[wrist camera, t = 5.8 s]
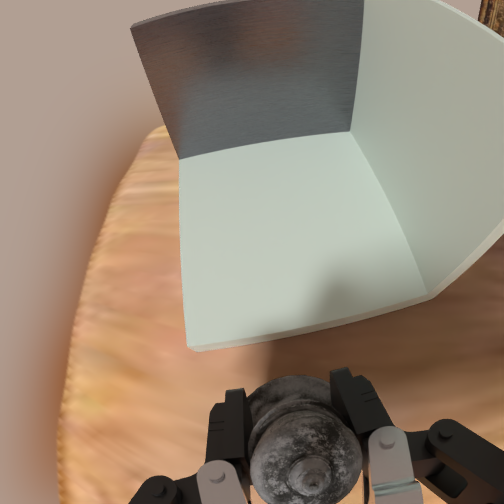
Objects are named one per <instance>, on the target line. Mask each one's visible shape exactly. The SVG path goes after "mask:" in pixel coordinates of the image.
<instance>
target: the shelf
mask: <svg viewBox="0 0 504 504" xmlns="http://www.w3.org/2000/svg"><path fill="white" fill-rule="evenodd" d="M130 30H131V33H132V36H133V39H134V42H135V44H136V47H137V50H138V53H139V56H140V58H141V61H142V64H143V67H144V69H145V72H146V75H147V77H148V80H149V83H150V86H151V88H152V91H153V94H154V96H155V99H156V102H157V104H158V107H159V110H160V112H161V115H162V117H163V120H164V122H165V125H166V128H167V130H168V133H169V135H170V138H171V140H172V143H173V145H174V148H175V150H176V153H177V155H178V158H179V224H180V254H181V274H182V291H183V305H184V318H185V329H186V340H187V347H189V348H190V349H192V350H194V351H196V352H202V351H209V350H217V349H223V348H230V347H236V346H243V345H249V344H254V343H260V342H266V341H271V340H276V339H281V338H286V337H291V336H296V335H301V334H306V333H310V332H315V331H319V330H324V329H328V328H332V327H336V326H340V325H344V324H348V323H352V322H356V321H360V320H364V319H368V318H371V317H375V316H378V315H382V314H386V313H389V312H392V311H396V310H399V309H402V308H406V307H409V306H412V305H415V304H419V303H422V302H425V301H428V300H431V299H433V298H434V297H435V296H437V295H438V294H439V293H440V292H442V291H443V290H444V289H445V288H446V287H448V286H449V285H450V284H451V283H452V282H453V281H455V280H456V279H457V278H458V277H459V276H460V275H461V274H463V273H464V272H465V271H466V270H467V269H468V268H469V267H470V266H471V265H472V264H473V263H475V262H476V261H477V260H478V259H479V258H480V257H481V256H482V255H483V254H484V253H485V252H486V251H487V250H488V249H489V248H490V247H491V246H492V245H493V244H494V243H495V242H496V241H497V240H498V239H499V238H500V237H501V236H502V235H503V234H504V38H503V37H501V36H500V35H499V34H497V33H496V32H494V31H493V30H491V29H490V28H488V27H487V26H485V25H483V24H482V23H480V22H479V21H477V20H475V19H474V18H472V17H470V16H468V15H467V14H465V13H463V12H461V11H459V10H458V9H456V8H453V7H452V6H450V5H448V4H446V3H444V2H442V1H440V0H226V1H219V2H213V3H208V4H203V5H199V6H194V7H189V8H185V9H181V10H177V11H173V12H170V13H166V14H163V15H159V16H156V17H153V18H149V19H146V20H143V21H140V22H138V23H135V24H133V25H132V26H131V28H130Z"/></svg>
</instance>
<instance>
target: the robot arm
mask: <svg viewBox="0 0 504 504" xmlns="http://www.w3.org/2000/svg"><path fill="white" fill-rule="evenodd" d="M330 396H331V402H332V407H334V408H335V409H336V410H337V411H338V412H339V413H341V414H342V415H343V416H344V418H345V420H346V421H347V423H348V424H349V427H350V430H351V431H352V432H353V433H354V435H355V437H356V438H357V440H358V441H359V444H360V448H361V452H362V457H363V458H362V471H363V472H362V502H363V504H423V497H422V490H421V486H420V483H419V482H418V481H415V478H416V479H417V480H419V481H420V482H421V483H422V484H423V485H425V486H426V487H427V488H428V489H430V490H431V491H432V492H433V493H435V494H436V495H437V496H439V497H440V498H441V499H442V500H444V501H445V502H446V503H448V504H504V451H503V450H501V449H499V448H498V447H496V446H495V445H493V444H491V443H490V442H488V441H487V440H485V439H483V438H482V437H480V436H479V435H477V434H475V433H474V432H472V431H471V430H469V429H468V428H466V427H464V426H463V425H461V424H460V423H458V422H457V421H455V420H452V419H442V420H439V421H437V422H435V423H434V424H433V425H432V426H431V427H430V429H429V430H425V431H417V432H406V431H403V430H401V429H400V428H398V427H395V425H394V424H393V423H392V421H391V419H390V417H389V415H388V413H387V412H386V410H385V408H384V406H383V404H382V402H381V400H380V399H379V397H378V395H377V393H376V392H375V389H374V388H373V386H372V384H371V382H370V381H369V380H367V379H366V378H365V377H363V376H362V375H360V376H356V377H352V375H351V373H350V371H349V369H348V368H347V367H344V368H341V369H337V370H333V371H330ZM252 430H253V419H252V414H251V410H250V406H249V403H248V400H247V397H246V393H245V390H244V388H240V389H233V390H226V393H225V402H224V403H216V404H215V405H214V407H213V408H212V410H211V412H210V416H209V426H208V437H207V448H206V459H205V463H204V465H203V466H202V467H201V468H200V469H199V470H198V472H197V473H196V474H194V475H192V476H190V477H186V478H182V479H179V480H175V481H173V480H172V479H170V478H169V477H166V476H153V477H151V478H149V479H147V480H146V481H145V482H144V483H143V484H142V486H141V487H140V488H139V490H138V491H137V492H136V494H135V495H134V497H133V498H132V499H131V501H130V502H129V503H128V504H253V503H252V500H251V498H250V485H253V483H252V479H251V476H250V460H249V455H248V441H249V438H250V435H251V432H252Z"/></svg>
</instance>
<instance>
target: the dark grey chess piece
mask: <svg viewBox="0 0 504 504" xmlns="http://www.w3.org/2000/svg"><path fill="white" fill-rule="evenodd" d="M247 400H248V403H249V406H250V410H251V414H252V419H253V430H252V432H251V435H250V438H249V441H248V455H249V460H250V476H251V479H252V483H253V486H254V488H255V490H256V491H257V493H258V494H259V496H260V497H261V498H262V499H263V500H264V501H265V502H266V503H268V504H336V503H338V502H339V501H341V500H342V499H343V498H344V497H345V496H346V495H347V494H348V493H350V491H351V490H352V488H353V487H354V485H355V484H356V483H357V481H358V478H359V475H360V473H361V470H362V458H363V457H362V452H361V448H360V444H359V441H358V440H357V438H356V437H355V435H354V433H353V432H352V431H351V430H350V427H349V424H348V423H347V421H346V420H345V418H344V416H343V415H342V414H341V413H339V412H338V411H337V410H336V409H335V408H334V407H332V402H331V396H330V383H328V382H326V381H324V380H322V379H320V378H315V377H311V376H306V375H296V376H285V377H282V378H278V379H274V380H271V381H270V382H268V383H266V384H264V385H262V386H260V387H259V388H257V389H256V390H255V391H254V392H253V393H252V394H251V395H250V396H248V397H247Z"/></svg>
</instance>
